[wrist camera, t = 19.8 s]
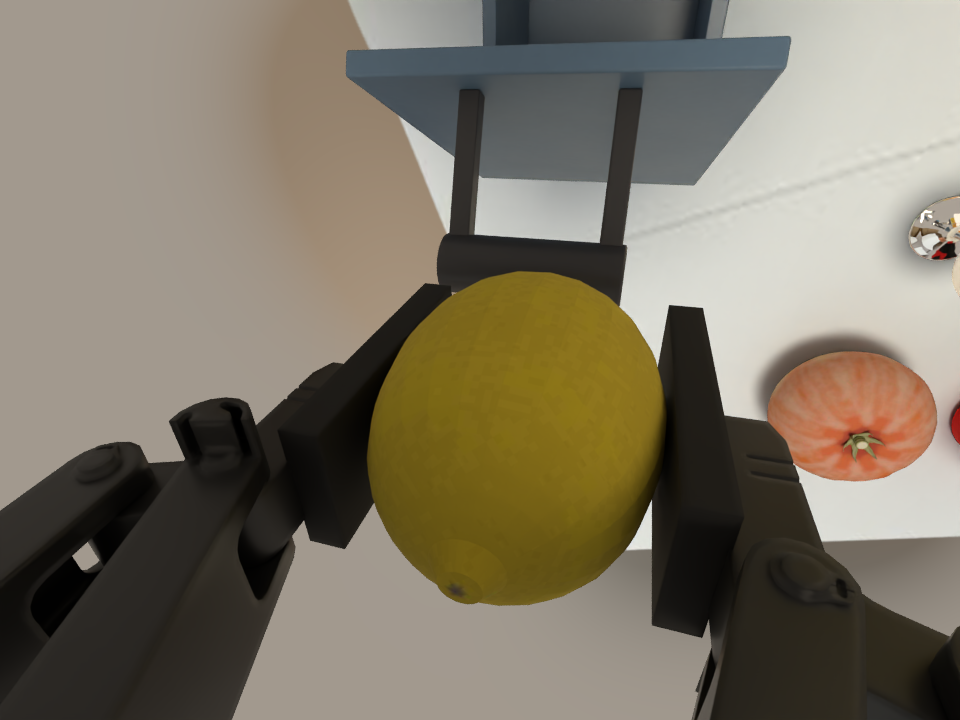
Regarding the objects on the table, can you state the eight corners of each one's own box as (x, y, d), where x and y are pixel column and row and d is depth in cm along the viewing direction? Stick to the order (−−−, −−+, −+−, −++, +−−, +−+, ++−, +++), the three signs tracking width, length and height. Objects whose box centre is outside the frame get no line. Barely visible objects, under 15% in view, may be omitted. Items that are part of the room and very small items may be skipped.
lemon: (507, 182, 12) (324, 349, 5) (712, 297, 12) (786, 606, 5) (428, 351, 15) (253, 584, 8) (589, 441, 15) (539, 743, 8)
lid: (345, 49, 16) (337, 283, 17) (793, 34, 12) (741, 323, 14) (482, 164, 31) (473, 281, 33) (697, 170, 28) (677, 300, 29)
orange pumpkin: (814, 460, 46) (843, 527, 39) (730, 387, 45) (745, 442, 38) (942, 393, 40) (1001, 458, 33) (849, 306, 39) (891, 356, 32)
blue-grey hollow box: (522, -113, 32) (480, -174, 24) (736, -137, 29) (770, -217, 21) (517, 149, 40) (484, 169, 32) (685, 152, 37) (695, 177, 29)
